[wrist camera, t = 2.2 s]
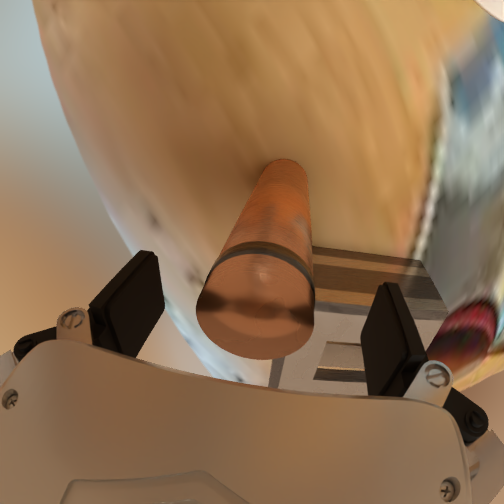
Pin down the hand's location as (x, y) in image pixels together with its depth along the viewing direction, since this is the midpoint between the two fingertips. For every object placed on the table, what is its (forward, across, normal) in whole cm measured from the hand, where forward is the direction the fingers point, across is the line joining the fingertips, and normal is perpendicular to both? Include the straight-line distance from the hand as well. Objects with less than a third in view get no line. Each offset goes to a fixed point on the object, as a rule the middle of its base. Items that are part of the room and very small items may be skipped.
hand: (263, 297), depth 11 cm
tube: (+15, 0, -1) cm, 15 cm away
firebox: (+15, -8, +12) cm, 21 cm away
